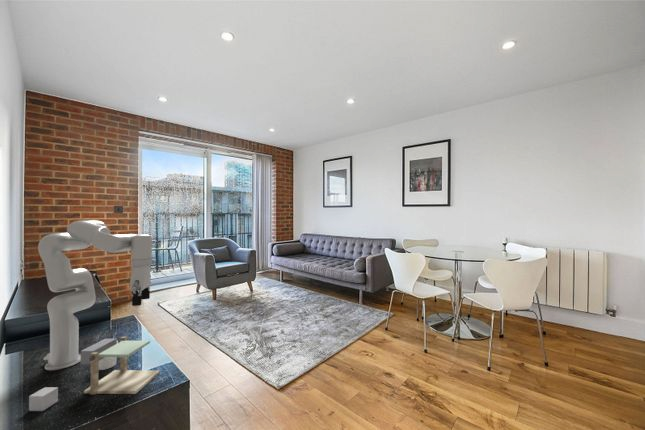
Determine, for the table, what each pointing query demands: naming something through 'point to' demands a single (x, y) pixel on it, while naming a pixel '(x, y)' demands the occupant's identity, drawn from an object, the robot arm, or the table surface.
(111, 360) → the white cup
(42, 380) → the table surface
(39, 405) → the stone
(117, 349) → the trapdoor
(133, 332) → the table surface
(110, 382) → the frame
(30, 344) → the table surface
